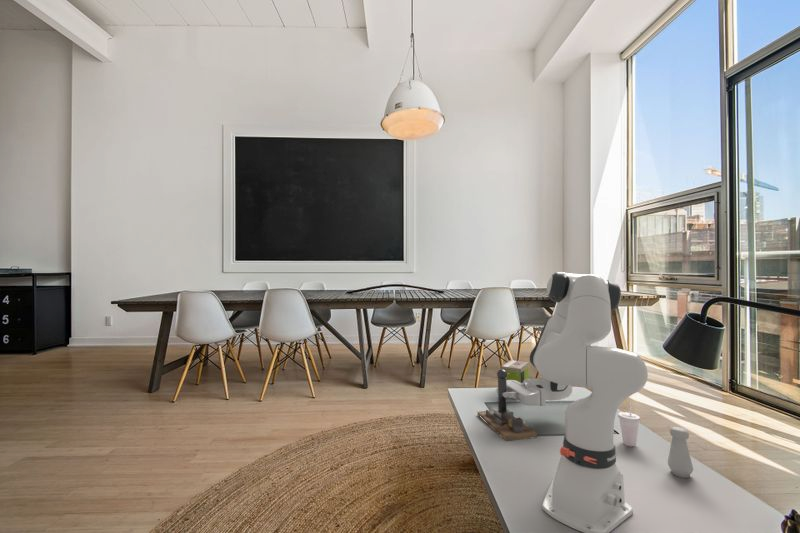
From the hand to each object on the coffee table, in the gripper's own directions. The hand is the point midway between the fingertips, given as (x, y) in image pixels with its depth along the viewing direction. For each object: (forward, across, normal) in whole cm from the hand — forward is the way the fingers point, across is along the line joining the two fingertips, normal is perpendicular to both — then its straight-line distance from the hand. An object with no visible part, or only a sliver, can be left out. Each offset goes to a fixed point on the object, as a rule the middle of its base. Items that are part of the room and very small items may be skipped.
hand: (500, 392), depth 137 cm
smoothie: (-35, +25, +12) cm, 44 cm away
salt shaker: (-34, +43, +12) cm, 56 cm away
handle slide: (-1, +1, +10) cm, 10 cm away
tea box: (-25, -30, +12) cm, 41 cm away
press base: (-1, +2, +12) cm, 12 cm away
